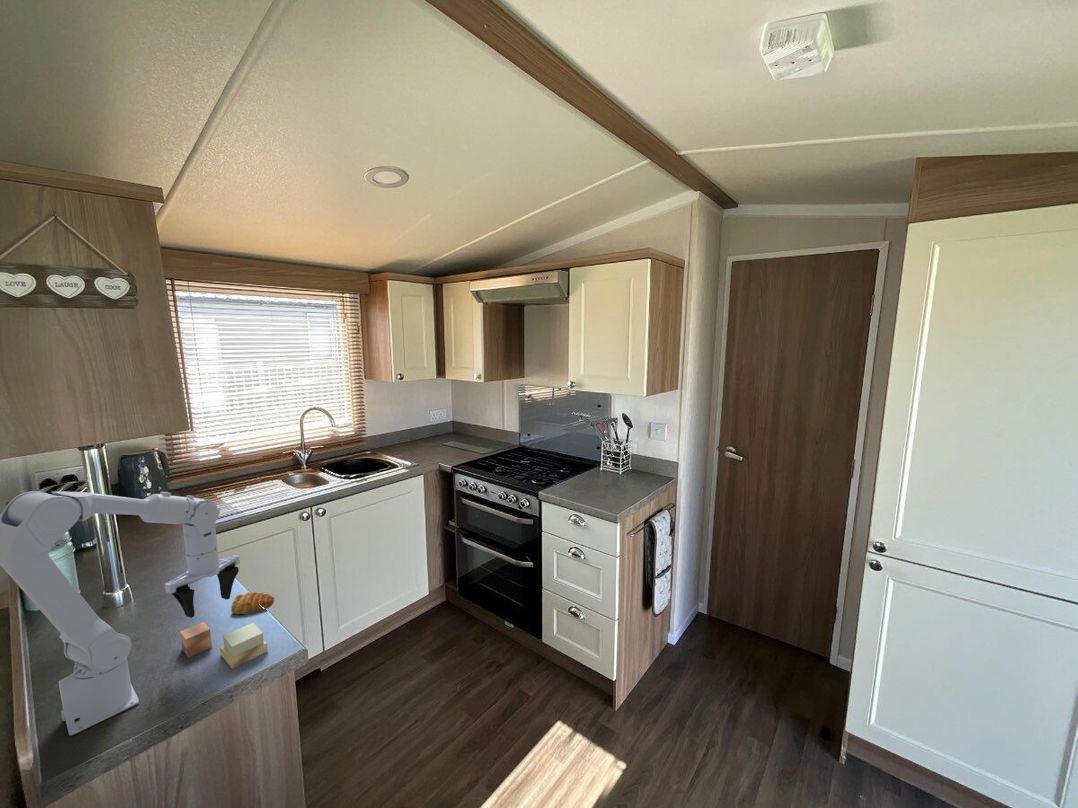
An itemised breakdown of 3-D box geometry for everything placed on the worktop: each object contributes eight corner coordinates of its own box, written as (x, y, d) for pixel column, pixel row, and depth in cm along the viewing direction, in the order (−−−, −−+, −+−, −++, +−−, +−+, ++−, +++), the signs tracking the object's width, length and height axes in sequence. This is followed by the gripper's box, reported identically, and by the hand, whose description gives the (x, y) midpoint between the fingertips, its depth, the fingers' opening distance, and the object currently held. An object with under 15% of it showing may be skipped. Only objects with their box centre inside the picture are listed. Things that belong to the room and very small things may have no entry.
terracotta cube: (188, 657, 100) (185, 639, 99) (182, 649, 103) (179, 631, 102) (212, 646, 103) (209, 628, 103) (205, 639, 106) (203, 621, 106)
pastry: (278, 598, 123) (277, 585, 123) (269, 613, 117) (267, 599, 116) (240, 603, 121) (239, 590, 121) (228, 618, 115) (227, 604, 114)
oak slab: (232, 670, 96) (231, 660, 96) (221, 657, 100) (220, 646, 100) (267, 653, 101) (266, 643, 101) (255, 640, 106) (254, 631, 105)
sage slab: (233, 657, 97) (231, 646, 96) (224, 645, 100) (223, 635, 100) (263, 643, 101) (262, 632, 101) (254, 632, 105) (253, 622, 105)
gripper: (175, 568, 93) (183, 629, 95) (245, 540, 106) (251, 594, 108) (156, 562, 96) (164, 621, 97) (226, 536, 109) (232, 588, 111)
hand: (208, 606), depth 103 cm, fingers open, 7 cm apart
